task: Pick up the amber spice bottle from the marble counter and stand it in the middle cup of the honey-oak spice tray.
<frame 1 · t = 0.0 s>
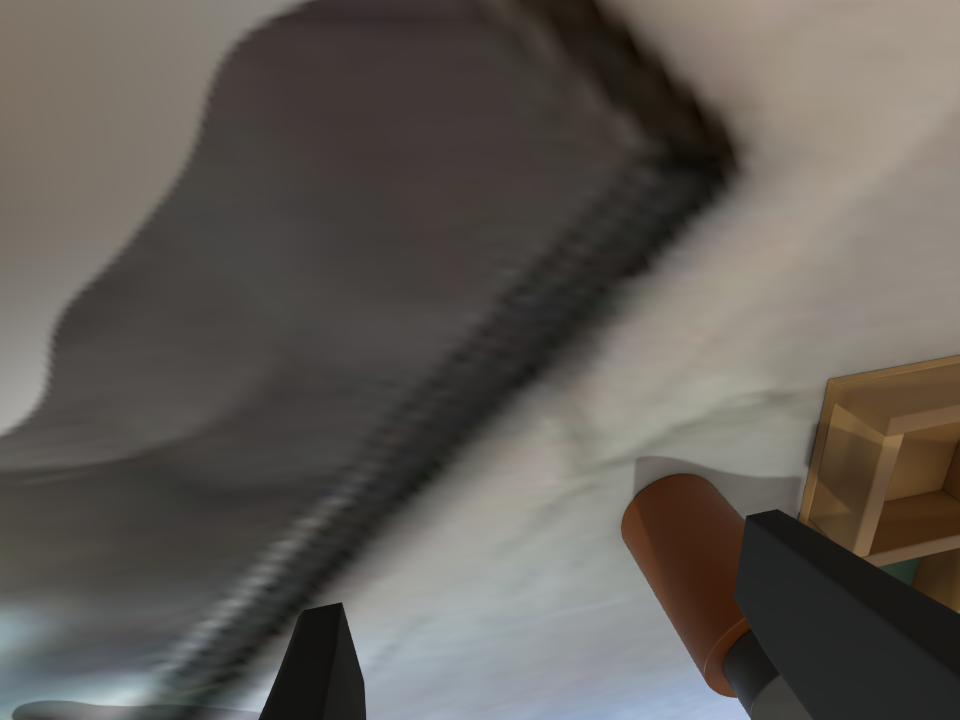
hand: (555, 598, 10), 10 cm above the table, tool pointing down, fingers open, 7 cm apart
spice bottle: (670, 516, 24), on the table
spice tray: (857, 555, 27), on the table
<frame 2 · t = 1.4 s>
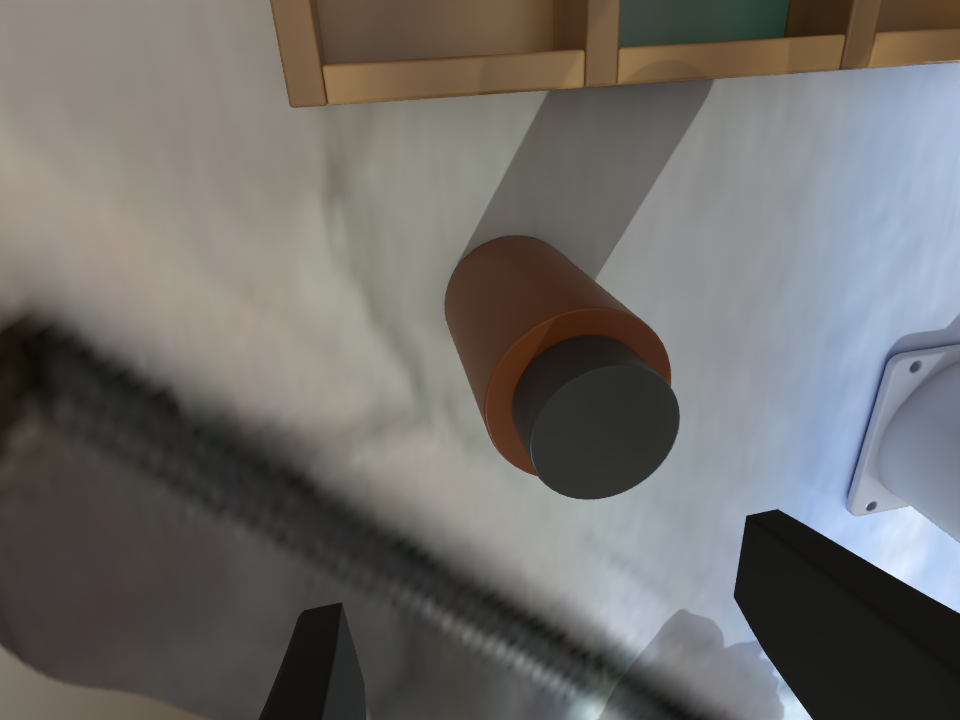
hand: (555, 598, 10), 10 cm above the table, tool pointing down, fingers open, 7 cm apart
spice bottle: (511, 302, 19), on the table
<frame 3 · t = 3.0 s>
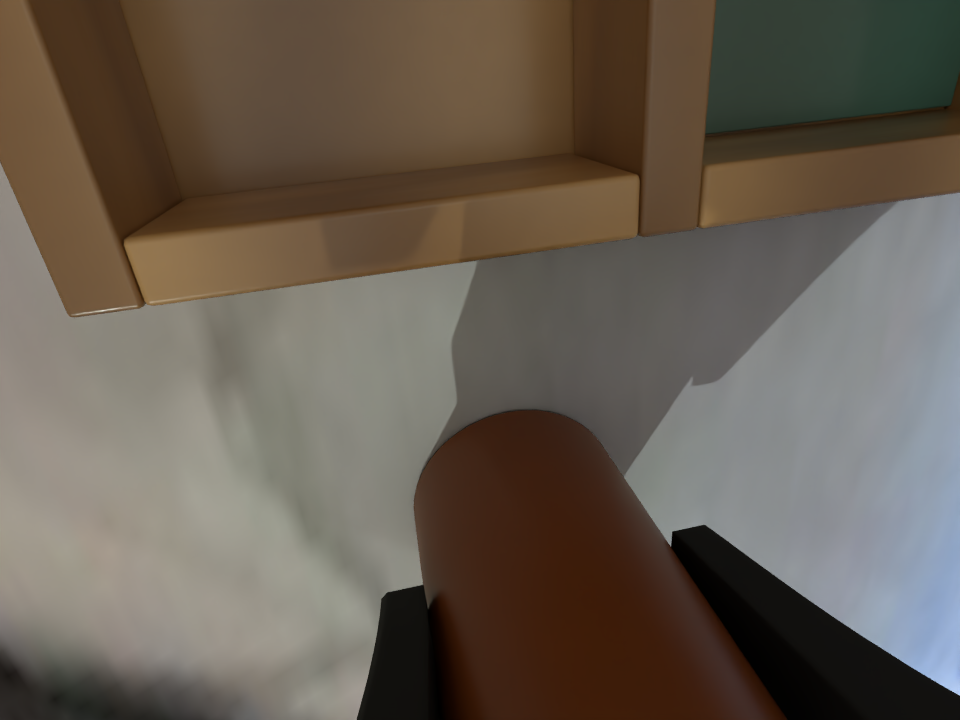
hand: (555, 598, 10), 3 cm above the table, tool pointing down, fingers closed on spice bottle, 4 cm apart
spice bottle: (514, 496, 12), on the table, touching gripper
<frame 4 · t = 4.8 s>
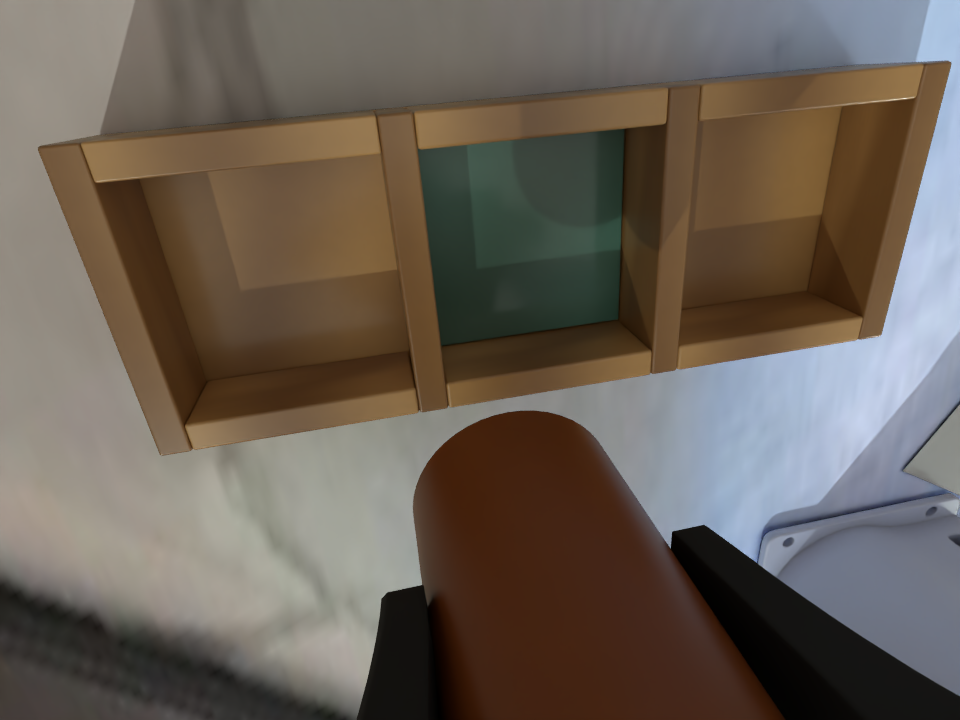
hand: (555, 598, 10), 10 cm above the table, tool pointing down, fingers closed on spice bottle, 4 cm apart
spice bottle: (513, 496, 12), point 7 cm above the table, touching gripper
spice tray: (519, 234, 17), on the table
when the fingers open (3 cm above the table, at t = 7.0 s): spice bottle stays where it is, resting on spice tray.
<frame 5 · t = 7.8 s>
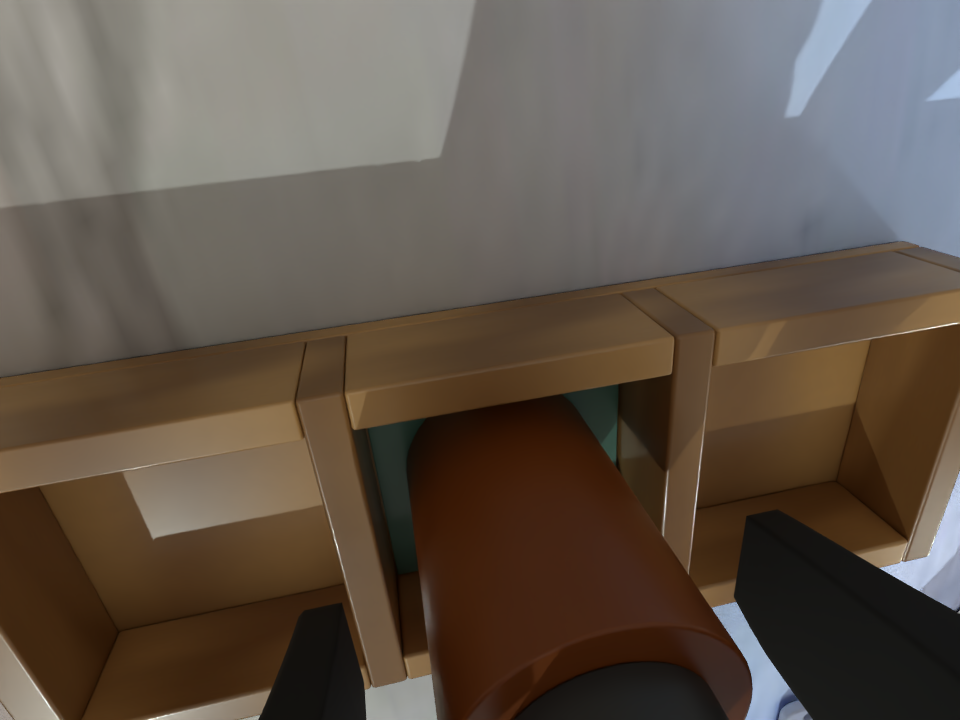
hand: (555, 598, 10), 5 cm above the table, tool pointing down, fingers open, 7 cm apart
spice bottle: (499, 461, 13), point 1 cm above the table, touching spice tray
spice tray: (495, 445, 14), on the table
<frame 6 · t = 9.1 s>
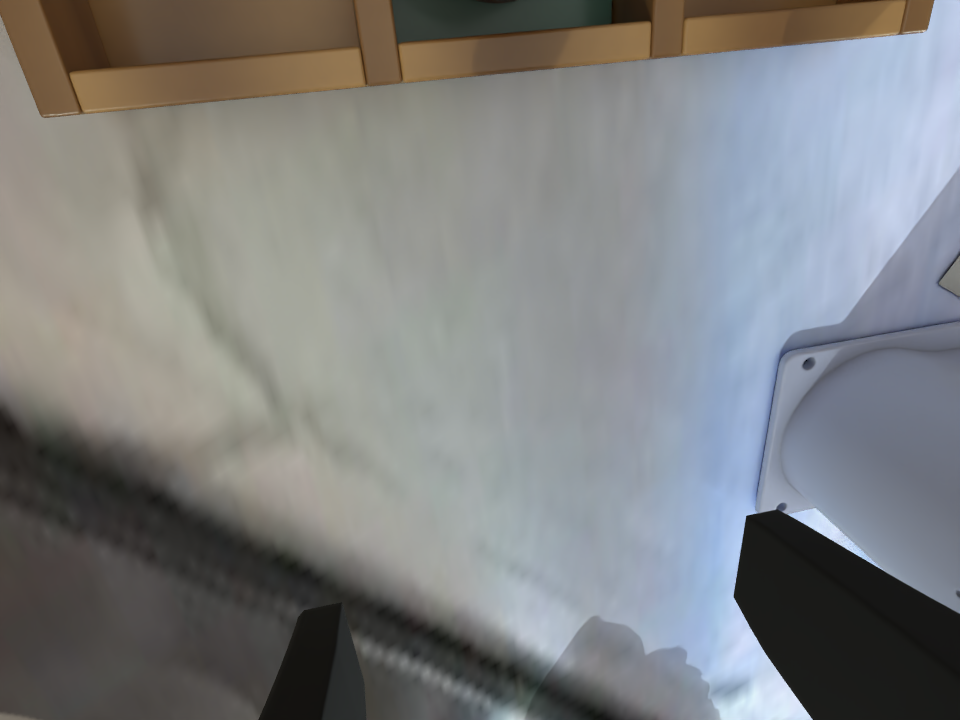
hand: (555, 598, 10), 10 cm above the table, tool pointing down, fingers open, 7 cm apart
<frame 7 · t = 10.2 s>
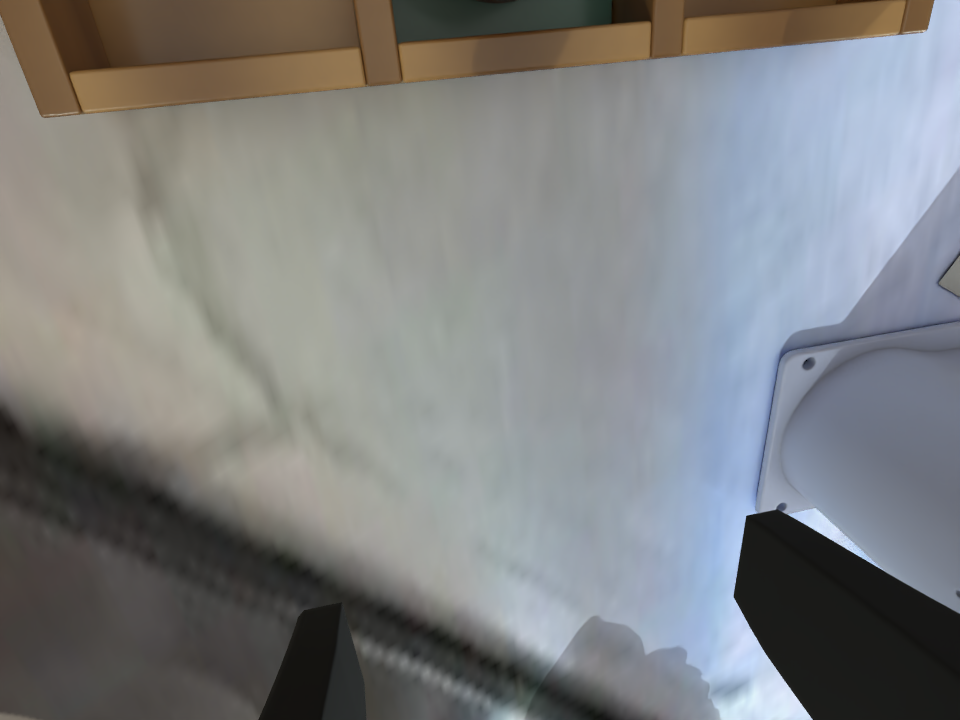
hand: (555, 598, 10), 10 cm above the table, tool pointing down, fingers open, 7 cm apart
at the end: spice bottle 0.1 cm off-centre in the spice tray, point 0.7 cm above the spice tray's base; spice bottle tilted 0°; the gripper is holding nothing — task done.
